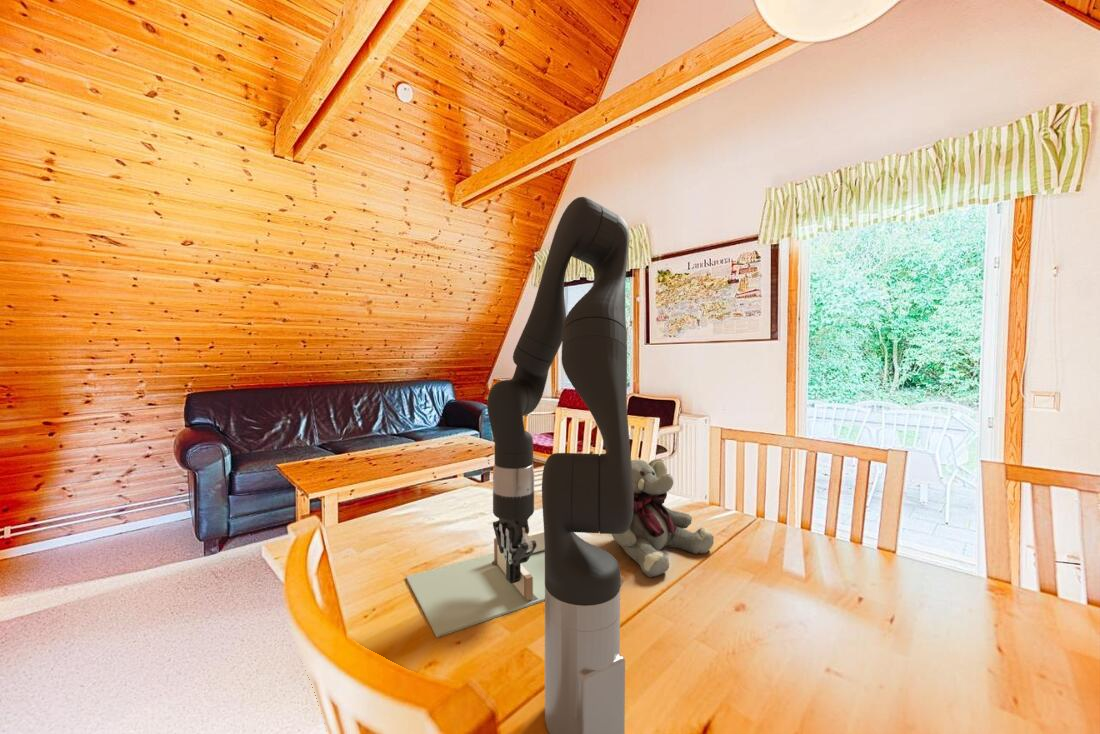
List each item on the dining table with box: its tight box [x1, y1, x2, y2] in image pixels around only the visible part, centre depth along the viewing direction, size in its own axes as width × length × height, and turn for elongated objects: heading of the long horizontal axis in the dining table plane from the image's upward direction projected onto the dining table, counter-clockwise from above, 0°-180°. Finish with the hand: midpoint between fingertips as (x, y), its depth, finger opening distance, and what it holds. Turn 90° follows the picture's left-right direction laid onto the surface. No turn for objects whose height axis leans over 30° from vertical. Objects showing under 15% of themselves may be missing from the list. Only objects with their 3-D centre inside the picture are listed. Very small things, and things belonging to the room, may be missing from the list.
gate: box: [497, 545, 533, 600], centre depth 86 cm, size 15×1×4 cm, turn 27°
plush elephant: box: [611, 458, 715, 578], centre depth 103 cm, size 27×22×21 cm
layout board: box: [405, 550, 545, 638], centre depth 88 cm, size 21×33×1 cm, turn 121°
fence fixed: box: [493, 529, 545, 564], centre depth 97 cm, size 2×16×6 cm, turn 121°
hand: (513, 580), depth 82 cm, fingers closed
